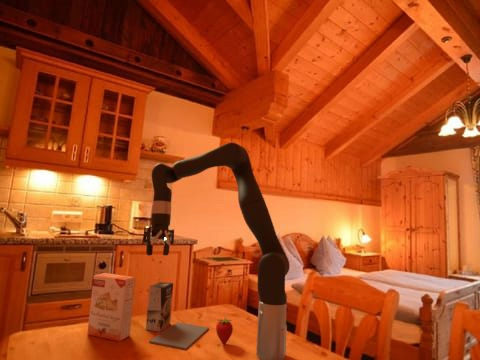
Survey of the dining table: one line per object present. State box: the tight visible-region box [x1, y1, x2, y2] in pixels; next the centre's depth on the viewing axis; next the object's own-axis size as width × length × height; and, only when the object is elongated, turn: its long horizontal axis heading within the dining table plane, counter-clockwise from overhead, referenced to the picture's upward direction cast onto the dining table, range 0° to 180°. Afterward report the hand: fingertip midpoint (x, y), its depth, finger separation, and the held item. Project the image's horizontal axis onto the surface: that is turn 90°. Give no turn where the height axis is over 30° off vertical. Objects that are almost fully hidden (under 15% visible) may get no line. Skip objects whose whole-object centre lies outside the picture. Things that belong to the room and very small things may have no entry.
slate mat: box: [148, 321, 210, 351], centre depth 111 cm, size 14×20×1 cm
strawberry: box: [215, 315, 234, 346], centre depth 106 cm, size 6×8×10 cm
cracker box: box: [87, 272, 136, 342], centre depth 108 cm, size 14×6×21 cm, turn 73°
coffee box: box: [145, 281, 174, 333], centre depth 119 cm, size 9×6×16 cm
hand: (157, 255), depth 116 cm, fingers open, 8 cm apart
